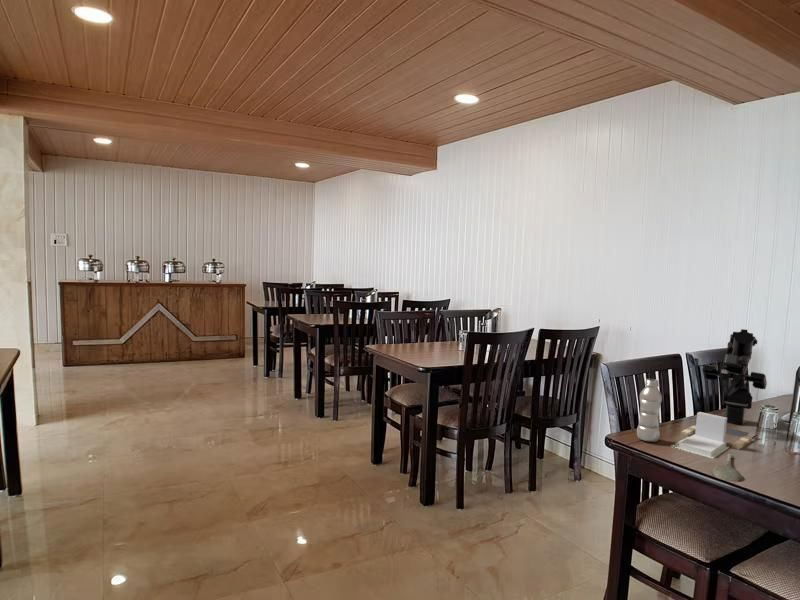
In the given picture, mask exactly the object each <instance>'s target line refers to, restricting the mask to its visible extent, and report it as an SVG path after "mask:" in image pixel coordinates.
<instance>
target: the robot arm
mask: <svg viewBox="0 0 800 600" xmlns="http://www.w3.org/2000/svg"><path fill="white" fill-rule="evenodd" d="M756 338H757V337H756V336H755V335H754V333H751V332H748V329H740V331H733V332H732V333H731V334H730V336H729V342H728V343H727V348H726V353H725V354H724V357H723V361H722V362H723V364H724V366H723V369H721V370H719V369H718V366H717V365H712V364H705V365H703V366H702V373H703V378H704V379H706V380H707V381H708V380H709V381H717V380H718V379H719V378H720V382H721V384H722V385H724V389H723V396H722V405H723V406H726V409H725V417H726V418H727V423H730V424H735V425H739V426H742V425H744V424H746V423H747V421H746V420H744V415H745V409H748V410H750V409H752V403H753V395H752V393H751V392H749V391H750V390H749V383H748V382H752V387H753V388H754V389H759V390H765V389H767V388H766V387H767V383H768V381H767V377H766V375H765V374H764V373H761V372H756V371H751V373H750V374H746V372H747V370H748V367H749V363H750V361H751V360H752V354H753V347H755V346H756V345H758V339H756Z"/></svg>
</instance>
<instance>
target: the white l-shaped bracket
mask: <svg viewBox="0 0 800 600" xmlns="http://www.w3.org/2000/svg"><path fill="white" fill-rule="evenodd" d="M695 421H696V422H695V424H696V431H695V433H693V434H691V435H689V436H688V437H689V438H687V437H686V438H687V439H685V438H684V439H685V440H684V441H682V442H680V443H679V448H681V449H685V450H688V451H692V452H696V453H699V454H703V455H707V456H710V457H711V456H713V455H714V454H715V453H717V452H718V451H720V450H721V449H722V448H724V447H725V446H727V443H728V441H727V440H726V434H727V433H726V428H727V425H728V424H727V423H728V422H727V418H726V416H720V415H715V414H712V413H708V412H707V413H706V412H702V411H699V412H697V413H696V420H695Z"/></svg>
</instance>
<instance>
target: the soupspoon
mask: <svg viewBox="0 0 800 600" xmlns="http://www.w3.org/2000/svg"><path fill="white" fill-rule="evenodd" d="M726 457H727V460H726V464H725V465H717V466H714V467H713V468H712V474H713V476H714V477H715V478H717V479H720V480H724V481H728V482H732V483H733V482H735V483H738V482H740V480H741V478H742V475H741V473H740V471H738V470H737V469H736V468H734V467H731V459H734V458H735V456H734V454H733V453H728V454H726Z"/></svg>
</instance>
